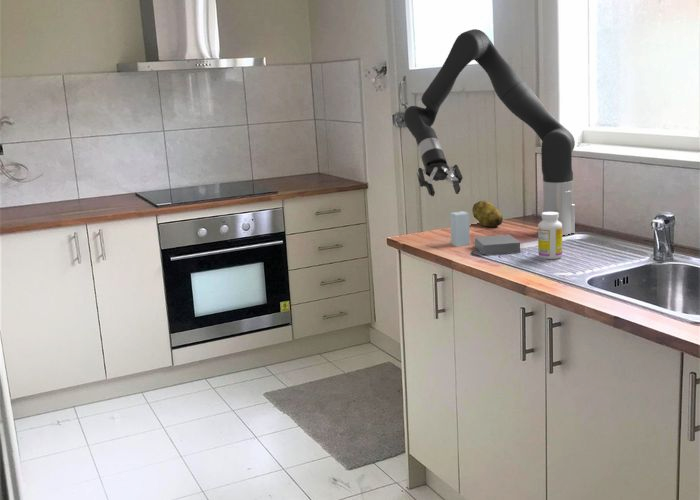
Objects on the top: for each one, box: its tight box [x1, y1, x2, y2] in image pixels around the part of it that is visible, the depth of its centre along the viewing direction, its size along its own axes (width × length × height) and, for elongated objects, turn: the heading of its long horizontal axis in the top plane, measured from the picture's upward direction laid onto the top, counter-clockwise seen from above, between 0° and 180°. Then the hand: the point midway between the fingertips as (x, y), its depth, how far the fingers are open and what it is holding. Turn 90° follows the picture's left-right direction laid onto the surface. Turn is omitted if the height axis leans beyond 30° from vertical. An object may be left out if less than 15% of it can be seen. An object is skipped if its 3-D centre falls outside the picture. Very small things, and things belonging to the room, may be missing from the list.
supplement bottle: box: [537, 211, 563, 260], centre depth 222 cm, size 7×7×13 cm
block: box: [449, 210, 471, 247], centre depth 244 cm, size 4×4×10 cm
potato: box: [471, 200, 504, 228], centre depth 269 cm, size 8×13×8 cm, turn 8°
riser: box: [474, 234, 521, 255], centre depth 235 cm, size 11×11×3 cm
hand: (445, 193), depth 252 cm, fingers open, 8 cm apart
